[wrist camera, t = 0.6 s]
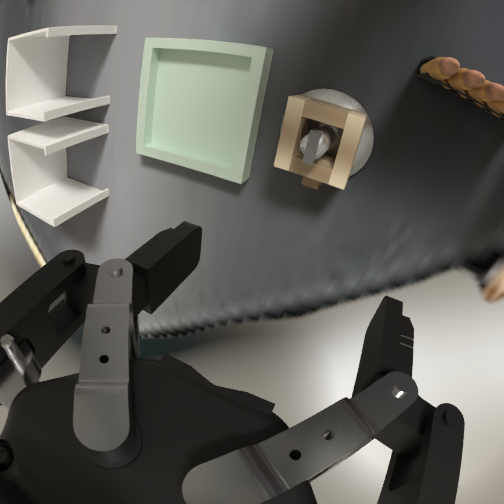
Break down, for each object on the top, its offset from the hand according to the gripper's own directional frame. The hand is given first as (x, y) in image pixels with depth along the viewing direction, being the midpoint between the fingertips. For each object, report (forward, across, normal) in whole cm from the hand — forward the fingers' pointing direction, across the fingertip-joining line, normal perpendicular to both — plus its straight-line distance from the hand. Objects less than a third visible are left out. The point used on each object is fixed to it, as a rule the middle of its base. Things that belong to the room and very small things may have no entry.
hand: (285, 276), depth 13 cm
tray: (+20, +16, -2) cm, 26 cm away
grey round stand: (+20, +2, -2) cm, 21 cm away
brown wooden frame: (+20, +2, -2) cm, 20 cm away
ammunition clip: (+21, -10, -10) cm, 25 cm away
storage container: (+21, +36, +1) cm, 42 cm away
